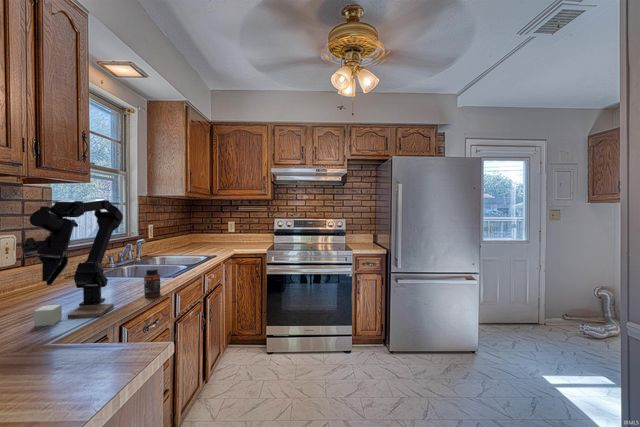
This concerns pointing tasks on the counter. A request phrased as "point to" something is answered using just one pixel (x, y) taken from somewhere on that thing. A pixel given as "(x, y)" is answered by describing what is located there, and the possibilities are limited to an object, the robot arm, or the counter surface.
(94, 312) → the brown square tile
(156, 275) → the supplement bottle
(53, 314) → the cube
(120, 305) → the counter surface
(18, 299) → the counter surface
